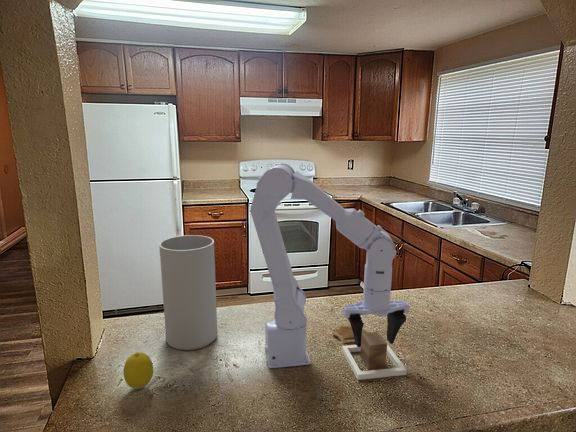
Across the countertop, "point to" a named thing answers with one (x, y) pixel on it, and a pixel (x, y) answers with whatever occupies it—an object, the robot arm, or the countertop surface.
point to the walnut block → (373, 350)
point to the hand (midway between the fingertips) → (374, 343)
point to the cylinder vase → (189, 291)
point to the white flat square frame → (373, 373)
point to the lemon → (138, 370)
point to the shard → (345, 333)
